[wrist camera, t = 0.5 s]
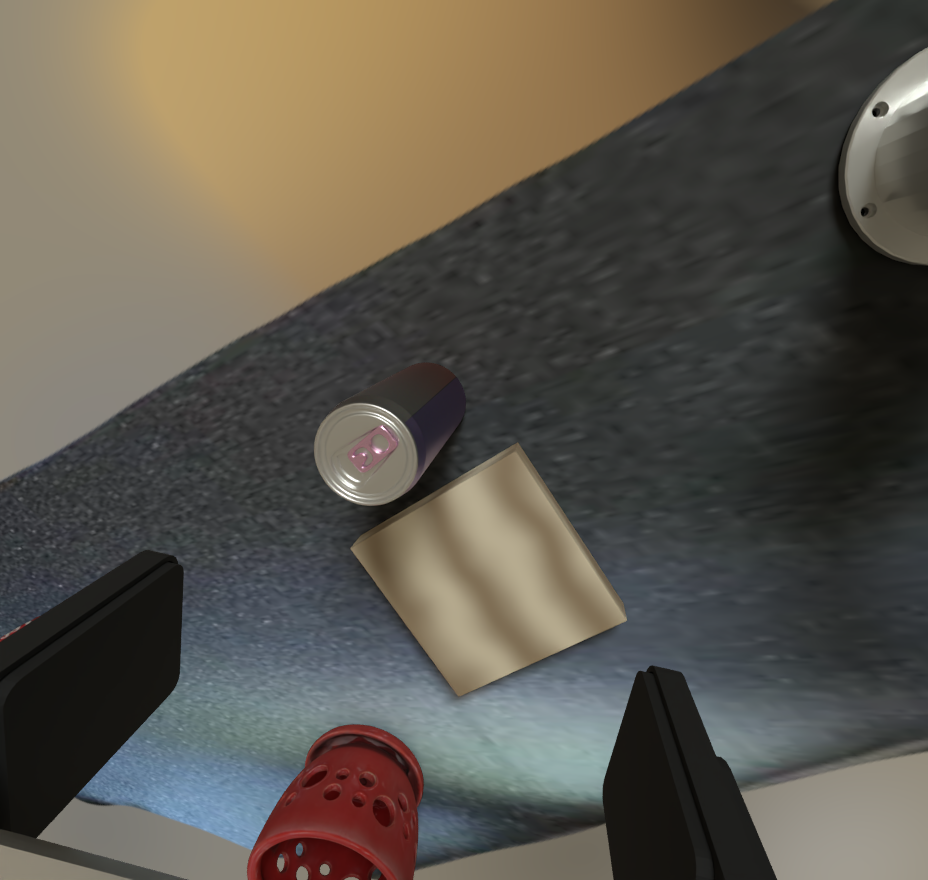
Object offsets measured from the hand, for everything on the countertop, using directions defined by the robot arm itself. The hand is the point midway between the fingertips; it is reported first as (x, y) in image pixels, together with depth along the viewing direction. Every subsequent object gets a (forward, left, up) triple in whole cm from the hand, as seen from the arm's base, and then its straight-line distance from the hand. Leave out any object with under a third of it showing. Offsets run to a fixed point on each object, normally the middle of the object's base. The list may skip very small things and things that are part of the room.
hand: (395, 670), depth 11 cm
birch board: (+10, +12, -32) cm, 35 cm away
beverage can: (+6, -3, -32) cm, 33 cm away
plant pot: (+32, +24, -32) cm, 51 cm away
